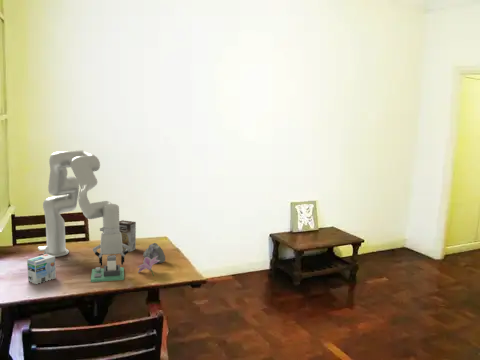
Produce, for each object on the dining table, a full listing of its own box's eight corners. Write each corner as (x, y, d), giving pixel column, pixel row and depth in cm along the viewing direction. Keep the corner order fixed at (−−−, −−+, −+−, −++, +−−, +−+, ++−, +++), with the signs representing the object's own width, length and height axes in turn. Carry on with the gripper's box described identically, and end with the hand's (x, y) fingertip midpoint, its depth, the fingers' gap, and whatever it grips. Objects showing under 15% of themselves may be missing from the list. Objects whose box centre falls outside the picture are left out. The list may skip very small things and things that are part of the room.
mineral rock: (142, 257, 256) (142, 239, 254) (162, 255, 259) (162, 238, 258) (145, 265, 244) (145, 246, 242) (166, 263, 247) (166, 245, 246)
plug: (107, 275, 226) (107, 259, 224) (107, 271, 230) (107, 255, 229) (116, 274, 227) (115, 258, 225) (116, 270, 231) (115, 255, 230)
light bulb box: (36, 285, 215) (35, 262, 213) (27, 281, 218) (26, 259, 216) (56, 277, 224) (55, 256, 222) (47, 274, 227) (46, 253, 225)
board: (90, 282, 220) (90, 274, 219) (92, 271, 233) (92, 264, 232) (124, 279, 224) (123, 272, 223) (123, 269, 237) (123, 262, 236)
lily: (164, 272, 238) (157, 254, 240) (164, 271, 227) (157, 252, 228) (141, 281, 235) (134, 262, 237) (140, 280, 224) (133, 261, 225)
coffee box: (116, 250, 266) (115, 222, 263) (122, 246, 272) (121, 219, 270) (130, 252, 264) (130, 224, 261) (136, 248, 270) (136, 221, 267)
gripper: (91, 233, 219) (92, 268, 222) (130, 231, 224) (130, 266, 226) (92, 228, 226) (93, 262, 229) (129, 227, 231) (130, 260, 234)
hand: (111, 264), depth 228 cm, fingers open, 9 cm apart
